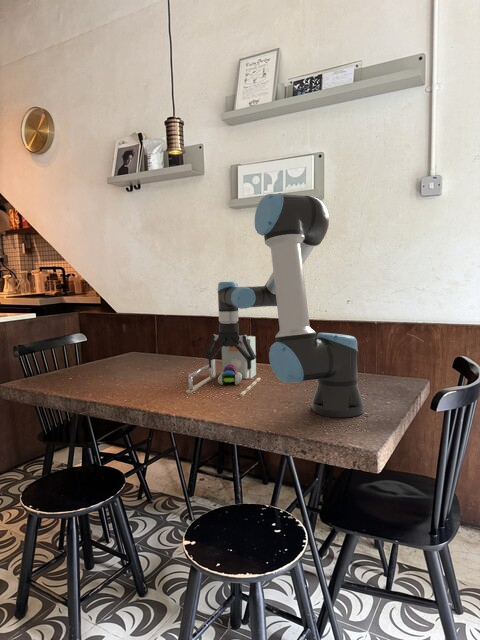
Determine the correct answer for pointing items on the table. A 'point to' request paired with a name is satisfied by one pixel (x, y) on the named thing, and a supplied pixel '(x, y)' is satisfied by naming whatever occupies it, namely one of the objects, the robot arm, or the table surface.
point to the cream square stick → (250, 387)
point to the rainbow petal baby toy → (230, 375)
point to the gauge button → (233, 348)
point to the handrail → (193, 388)
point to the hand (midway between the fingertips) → (230, 377)
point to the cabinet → (239, 358)
